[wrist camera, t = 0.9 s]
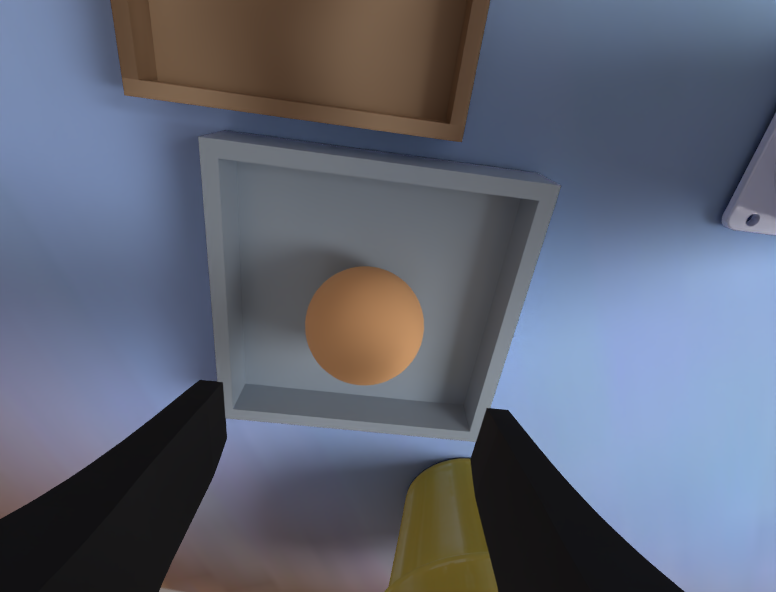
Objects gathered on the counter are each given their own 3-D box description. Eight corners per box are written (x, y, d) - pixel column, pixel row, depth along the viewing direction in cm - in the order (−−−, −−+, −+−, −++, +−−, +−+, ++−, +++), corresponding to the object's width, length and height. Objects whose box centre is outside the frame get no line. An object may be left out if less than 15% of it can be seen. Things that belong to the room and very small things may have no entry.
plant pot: (409, 412, 22) (424, 629, 13) (578, 456, 23) (693, 676, 14) (354, 527, 26) (337, 746, 17) (498, 558, 28) (549, 773, 19)
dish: (537, 172, 16) (561, 185, 14) (469, 407, 21) (479, 442, 19) (224, 130, 15) (198, 136, 13) (237, 384, 21) (220, 417, 19)
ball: (428, 256, 17) (440, 309, 13) (411, 346, 19) (417, 417, 15) (317, 242, 17) (295, 292, 13) (313, 336, 19) (292, 405, 15)
